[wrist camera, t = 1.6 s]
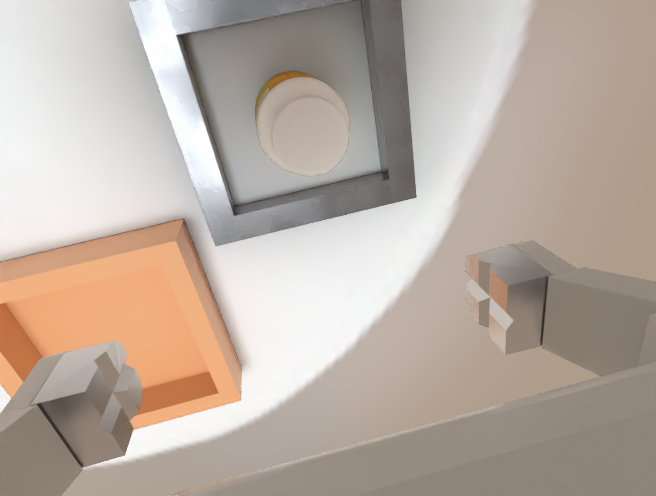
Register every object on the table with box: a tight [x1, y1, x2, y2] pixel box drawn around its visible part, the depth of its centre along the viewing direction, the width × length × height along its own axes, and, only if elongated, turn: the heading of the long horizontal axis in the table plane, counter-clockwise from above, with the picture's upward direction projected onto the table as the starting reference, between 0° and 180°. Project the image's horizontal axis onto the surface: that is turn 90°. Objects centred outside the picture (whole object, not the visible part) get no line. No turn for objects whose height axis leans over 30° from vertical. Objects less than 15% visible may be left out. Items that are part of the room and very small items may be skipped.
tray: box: [0, 219, 242, 430], centre depth 32 cm, size 16×16×4 cm
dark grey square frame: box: [128, 0, 416, 246], centre depth 28 cm, size 16×16×2 cm
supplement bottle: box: [255, 71, 350, 176], centre depth 25 cm, size 5×5×10 cm
